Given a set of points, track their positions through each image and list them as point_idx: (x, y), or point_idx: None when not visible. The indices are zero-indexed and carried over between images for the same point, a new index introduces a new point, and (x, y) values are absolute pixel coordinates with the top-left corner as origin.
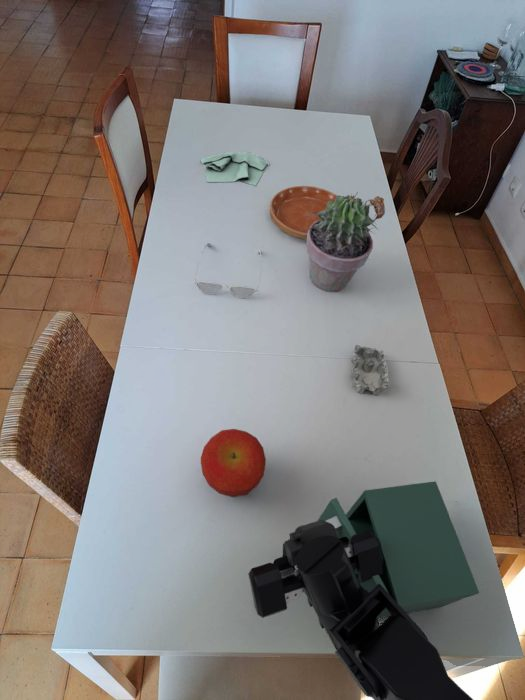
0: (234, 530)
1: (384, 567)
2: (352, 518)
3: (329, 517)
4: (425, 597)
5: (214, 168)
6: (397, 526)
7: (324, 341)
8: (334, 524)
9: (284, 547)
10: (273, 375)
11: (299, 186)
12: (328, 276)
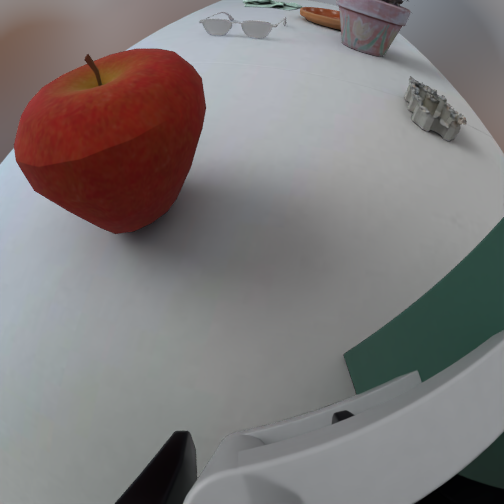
0: (101, 325)
1: None
2: None
3: (445, 332)
4: None
5: (253, 2)
6: None
7: (364, 76)
8: None
9: (157, 464)
10: (283, 83)
11: (329, 9)
12: (364, 26)
